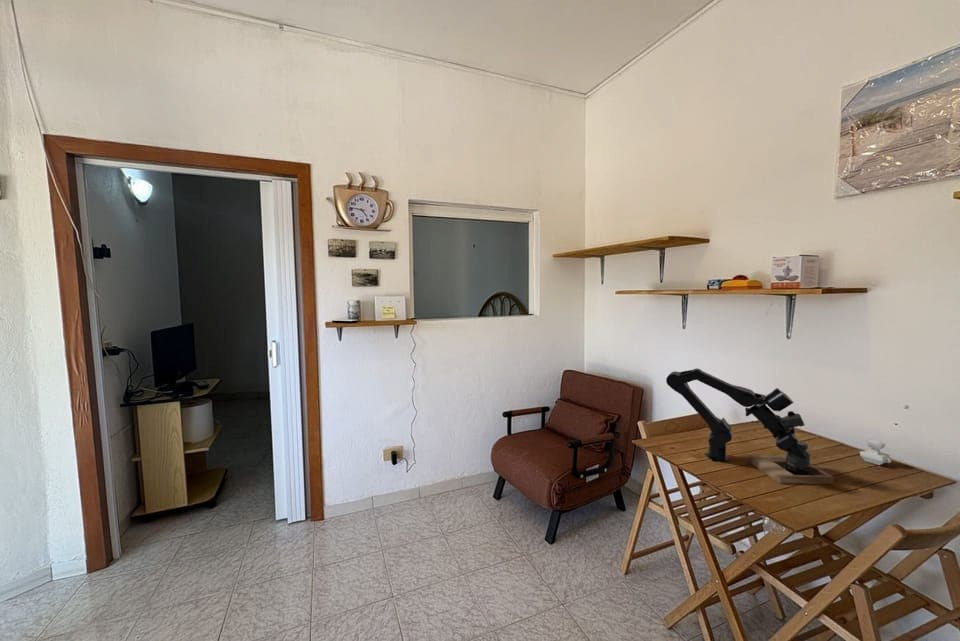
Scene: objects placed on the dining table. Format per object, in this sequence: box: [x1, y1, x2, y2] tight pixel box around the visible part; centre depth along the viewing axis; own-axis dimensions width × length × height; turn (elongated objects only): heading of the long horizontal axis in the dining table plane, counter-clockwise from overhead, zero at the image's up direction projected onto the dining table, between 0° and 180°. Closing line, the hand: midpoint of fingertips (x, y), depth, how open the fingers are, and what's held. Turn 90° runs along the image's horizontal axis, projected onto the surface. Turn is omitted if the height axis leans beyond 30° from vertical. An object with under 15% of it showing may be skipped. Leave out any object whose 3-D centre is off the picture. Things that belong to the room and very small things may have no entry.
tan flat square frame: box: [747, 454, 835, 485], centre depth 145 cm, size 17×18×2 cm
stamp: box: [859, 439, 892, 466], centre depth 152 cm, size 9×7×8 cm
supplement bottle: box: [785, 440, 812, 475], centre depth 143 cm, size 7×7×12 cm
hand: (804, 454), depth 142 cm, fingers open, 9 cm apart
